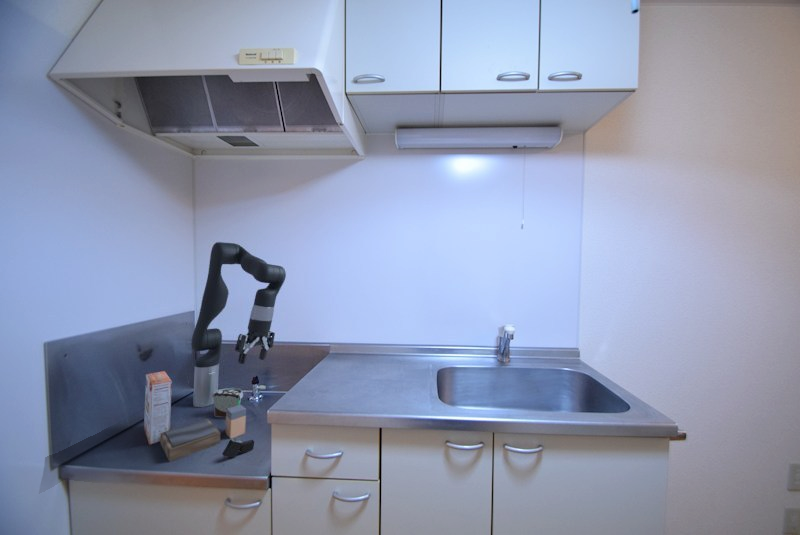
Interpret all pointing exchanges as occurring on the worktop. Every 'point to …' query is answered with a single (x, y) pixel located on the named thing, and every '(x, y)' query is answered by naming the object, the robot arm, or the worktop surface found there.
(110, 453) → the worktop surface
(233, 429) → the block
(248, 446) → the lighter
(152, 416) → the cracker box
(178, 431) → the stand
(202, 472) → the worktop surface
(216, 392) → the food container
